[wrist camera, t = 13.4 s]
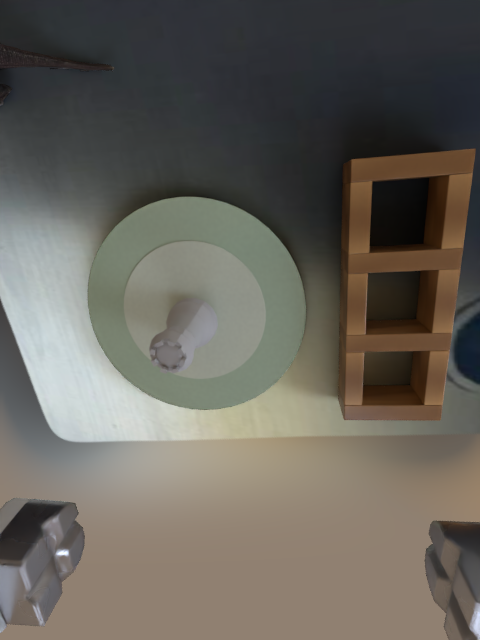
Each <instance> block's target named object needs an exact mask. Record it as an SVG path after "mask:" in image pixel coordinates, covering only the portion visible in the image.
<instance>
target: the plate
mask: <svg viewBox="0 0 480 640" xmlns="http://www.w3.org/2000/svg"><path fill="white" fill-rule="evenodd" d="M185 298H197V299H200V300H202V301H205V302H206V303H207V304H208V305H210V306H211V307H212V308H213V310H214V312H215V314H216V316H217V323H218V327H217V330H216V333H215V335H214V336H213V337H212V339H211V340H210V341H209V342H208V343H207V344H206V345H203V346H201V347H199V348H195V350H194V357H193V360H192V363H191V364H190V365H189V366H188V368H187V369H185V370H183V371H180V372H176V373H174V374H173V373H172V372H167V373H166V374H165V373H162V372H160V370H161V368H159V367H158V366H157V365H156V366H155V367H154V366H153V365H152V363H151V360H152V358H151V356H150V350H149V347H150V343H151V340H152V339H153V338H154V337H155V336H156V334H159V333H161V332H163V331H164V330H165V329H167V324H166V321H167V318H168V314H169V312H170V311H171V309H172V308H173V307H174V305H175V304H176V303H177V302H179V301H181V300H183V299H185ZM88 307H89V314H90V319H91V323H92V326H93V330H94V332H95V335H96V337H97V340H98V342H99V344H100V346H101V348H102V349H103V351H104V353H105V355H106V356H107V357H108V359H109V360H110V362H111V363H112V364H113V366H114V367H115V368H116V369H117V370H118V371H119V372H120V373H121V374H122V375H123V376H124V377H125V378H126V379H127V380H128V381H129V382H131V383H132V384H133V385H134V386H136V387H137V388H139V389H140V390H141V391H143V392H145V393H146V394H148V395H150V396H152V397H154V398H156V399H158V400H161V401H163V402H165V403H168V404H172V405H175V406H178V407H184V408H189V409H200V410H210V409H221V408H227V407H232V406H235V405H238V404H241V403H244V402H246V401H248V400H251V399H253V398H255V397H257V396H258V395H260V394H262V393H263V392H265V391H266V390H267V389H269V388H270V387H271V386H272V385H274V384H275V383H276V382H277V381H278V380H279V379H280V378H281V377H282V375H283V374H284V373H285V372H286V370H287V369H288V368H289V366H290V365H291V363H292V362H293V360H294V358H295V356H296V354H297V352H298V350H299V347H300V344H301V341H302V339H303V334H304V329H305V323H306V301H305V293H304V288H303V284H302V280H301V277H300V274H299V271H298V269H297V266H296V264H295V262H294V260H293V258H292V256H291V254H290V253H289V251H288V250H287V248H286V247H285V245H284V244H283V243H282V241H281V240H280V239H279V238H278V237H277V235H276V234H275V233H274V232H273V231H272V230H271V229H270V228H269V227H268V226H266V225H265V224H264V223H263V222H261V221H260V220H259V219H258V218H256V217H255V216H253V215H251V214H250V213H248V212H246V211H245V210H243V209H241V208H239V207H236V206H234V205H232V204H229V203H226V202H223V201H219V200H216V199H211V198H203V197H175V198H169V199H163V200H160V201H157V202H154V203H150V204H148V205H146V206H144V207H142V208H140V209H138V210H136V211H134V212H133V213H131V214H130V215H128V216H127V217H125V218H124V219H123V220H122V221H121V222H120V223H119V224H117V225H116V226H115V227H114V228H113V229H112V231H111V232H110V233H109V234H108V236H107V237H106V238H105V240H104V241H103V243H102V245H101V246H100V248H99V250H98V252H97V254H96V257H95V259H94V261H93V264H92V268H91V272H90V276H89V283H88Z"/></svg>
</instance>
